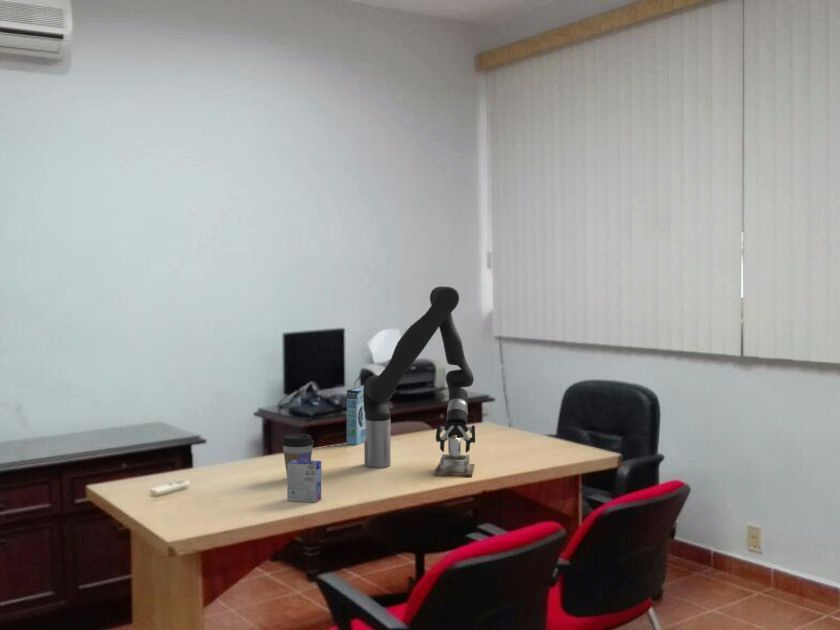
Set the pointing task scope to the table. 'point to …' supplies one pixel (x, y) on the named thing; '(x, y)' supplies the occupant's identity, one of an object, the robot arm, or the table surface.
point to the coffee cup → (296, 446)
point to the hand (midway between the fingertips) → (454, 450)
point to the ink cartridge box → (304, 480)
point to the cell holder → (454, 466)
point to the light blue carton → (355, 416)
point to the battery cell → (454, 448)
